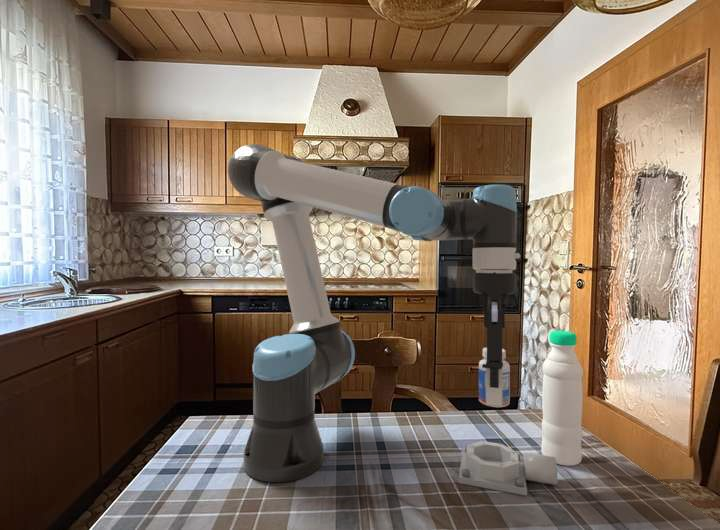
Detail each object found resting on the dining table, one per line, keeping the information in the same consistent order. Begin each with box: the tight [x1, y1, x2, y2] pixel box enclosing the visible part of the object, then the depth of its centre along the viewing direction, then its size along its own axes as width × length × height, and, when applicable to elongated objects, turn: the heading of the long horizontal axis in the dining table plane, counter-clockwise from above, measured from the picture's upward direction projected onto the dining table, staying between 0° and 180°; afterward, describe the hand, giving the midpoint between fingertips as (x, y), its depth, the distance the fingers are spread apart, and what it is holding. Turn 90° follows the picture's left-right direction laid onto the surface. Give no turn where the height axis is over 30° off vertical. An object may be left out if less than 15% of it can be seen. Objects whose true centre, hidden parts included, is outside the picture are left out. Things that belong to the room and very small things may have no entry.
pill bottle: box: [478, 346, 511, 408], centre depth 70 cm, size 6×5×10 cm
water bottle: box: [540, 330, 584, 467], centre depth 76 cm, size 7×7×25 cm
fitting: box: [458, 440, 558, 497], centre depth 70 cm, size 16×11×4 cm
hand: (493, 398), depth 70 cm, fingers closed on pill bottle, 5 cm apart
